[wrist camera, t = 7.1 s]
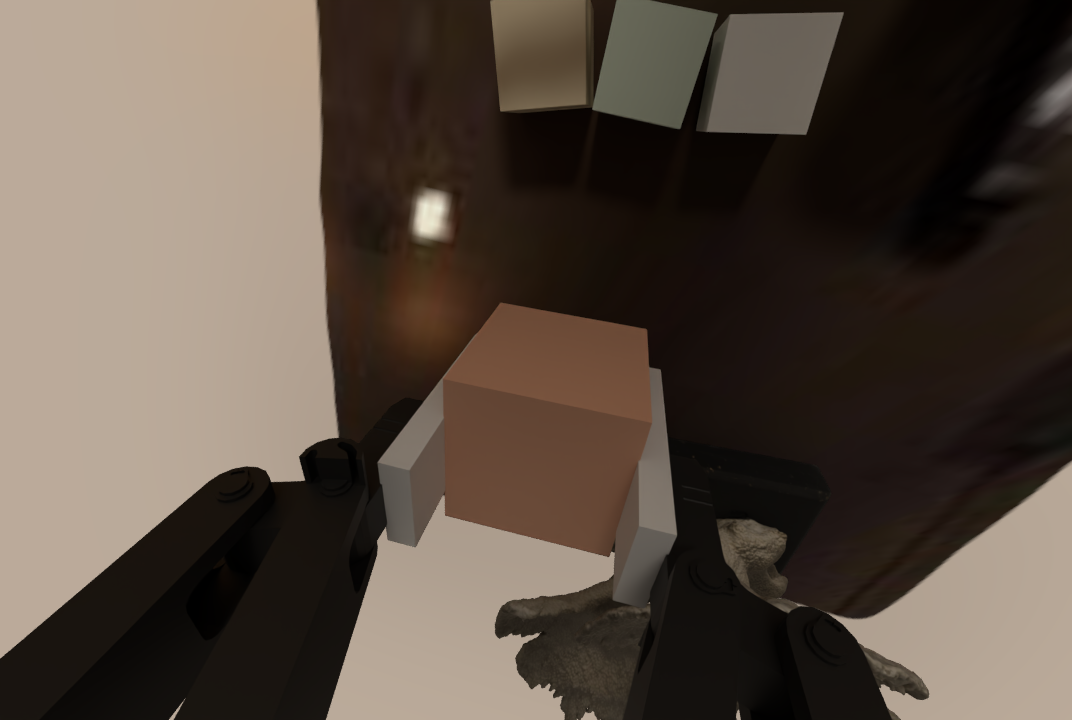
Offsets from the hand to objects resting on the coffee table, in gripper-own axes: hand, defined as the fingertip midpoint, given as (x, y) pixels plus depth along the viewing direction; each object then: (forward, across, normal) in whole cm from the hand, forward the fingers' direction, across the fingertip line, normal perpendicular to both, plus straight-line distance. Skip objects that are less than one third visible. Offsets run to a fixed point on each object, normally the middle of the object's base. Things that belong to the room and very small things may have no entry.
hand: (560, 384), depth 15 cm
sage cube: (+20, +1, +11) cm, 23 cm away
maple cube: (+20, -5, +11) cm, 23 cm away
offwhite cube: (+20, +7, +11) cm, 24 cm away
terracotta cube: (0, 0, 0) cm, 0 cm away
